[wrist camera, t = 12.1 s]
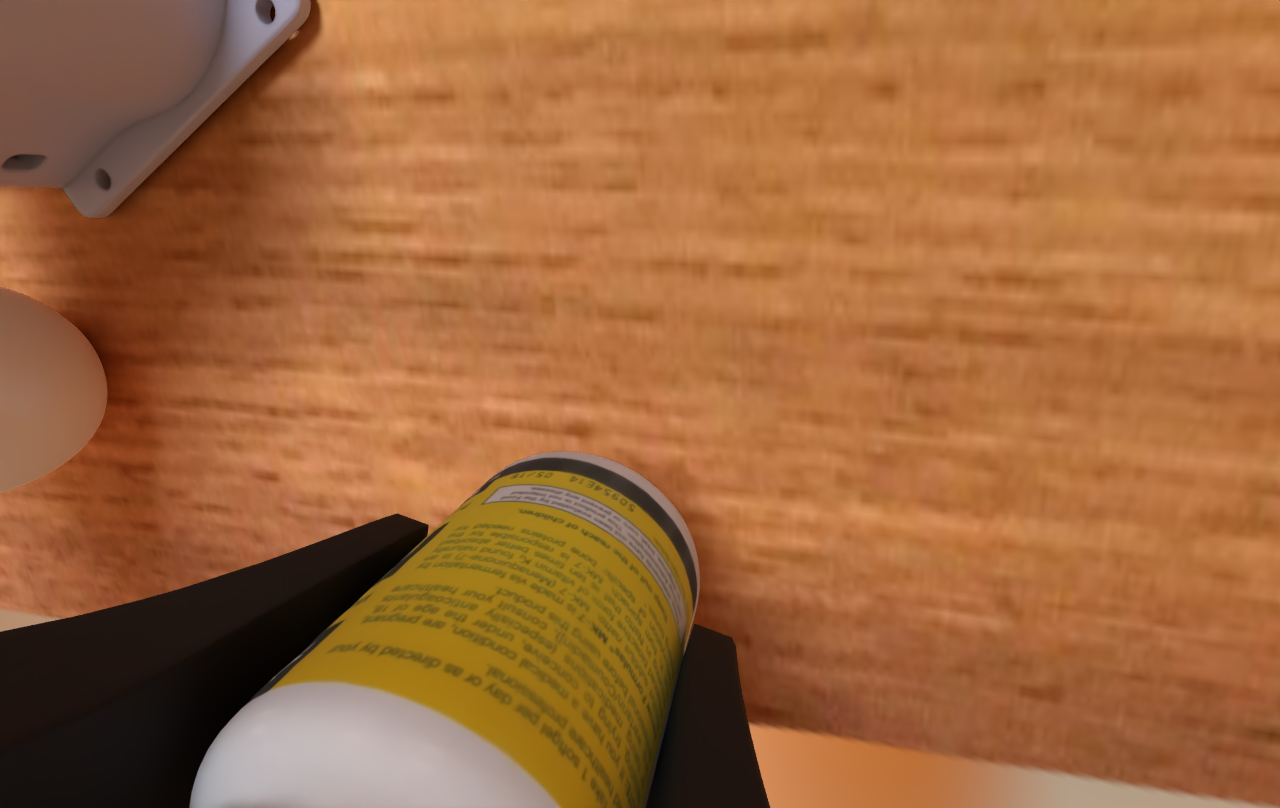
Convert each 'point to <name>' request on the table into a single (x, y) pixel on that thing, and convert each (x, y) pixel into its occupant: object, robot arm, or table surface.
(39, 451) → the figurine
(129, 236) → the table surface
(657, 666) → the supplement bottle
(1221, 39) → the table surface
